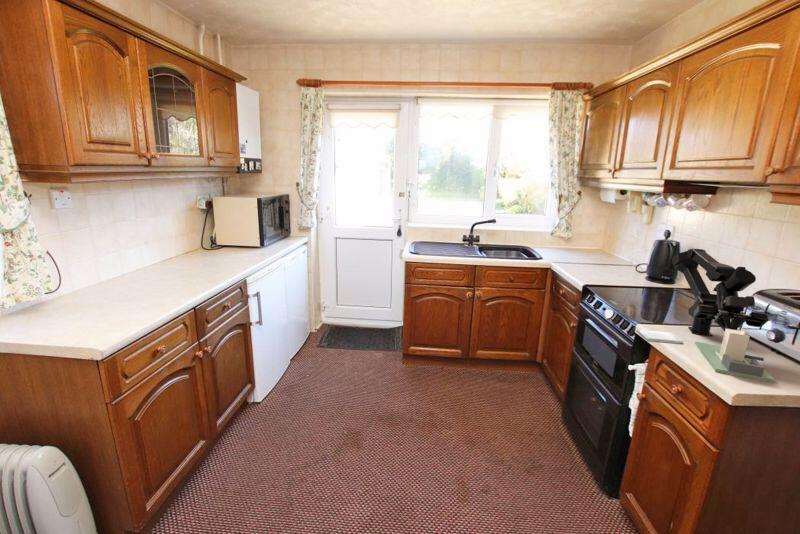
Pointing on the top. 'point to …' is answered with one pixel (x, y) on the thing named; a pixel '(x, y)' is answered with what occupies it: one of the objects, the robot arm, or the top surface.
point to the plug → (736, 345)
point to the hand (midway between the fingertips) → (732, 338)
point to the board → (715, 361)
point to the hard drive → (659, 336)
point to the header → (743, 366)
